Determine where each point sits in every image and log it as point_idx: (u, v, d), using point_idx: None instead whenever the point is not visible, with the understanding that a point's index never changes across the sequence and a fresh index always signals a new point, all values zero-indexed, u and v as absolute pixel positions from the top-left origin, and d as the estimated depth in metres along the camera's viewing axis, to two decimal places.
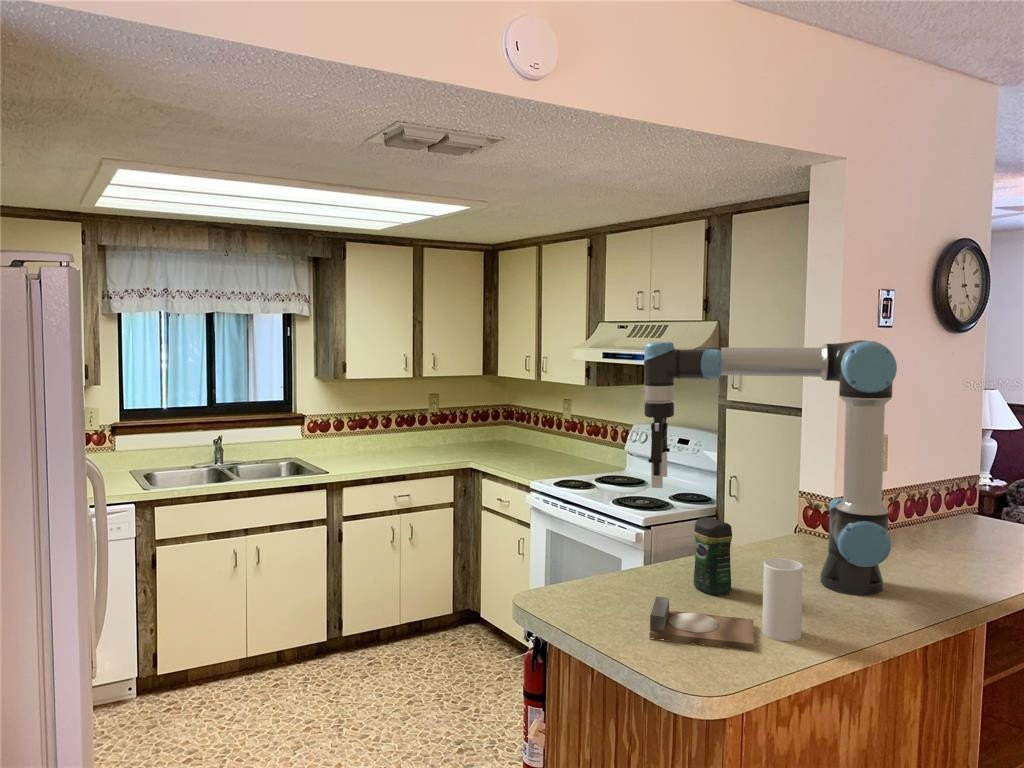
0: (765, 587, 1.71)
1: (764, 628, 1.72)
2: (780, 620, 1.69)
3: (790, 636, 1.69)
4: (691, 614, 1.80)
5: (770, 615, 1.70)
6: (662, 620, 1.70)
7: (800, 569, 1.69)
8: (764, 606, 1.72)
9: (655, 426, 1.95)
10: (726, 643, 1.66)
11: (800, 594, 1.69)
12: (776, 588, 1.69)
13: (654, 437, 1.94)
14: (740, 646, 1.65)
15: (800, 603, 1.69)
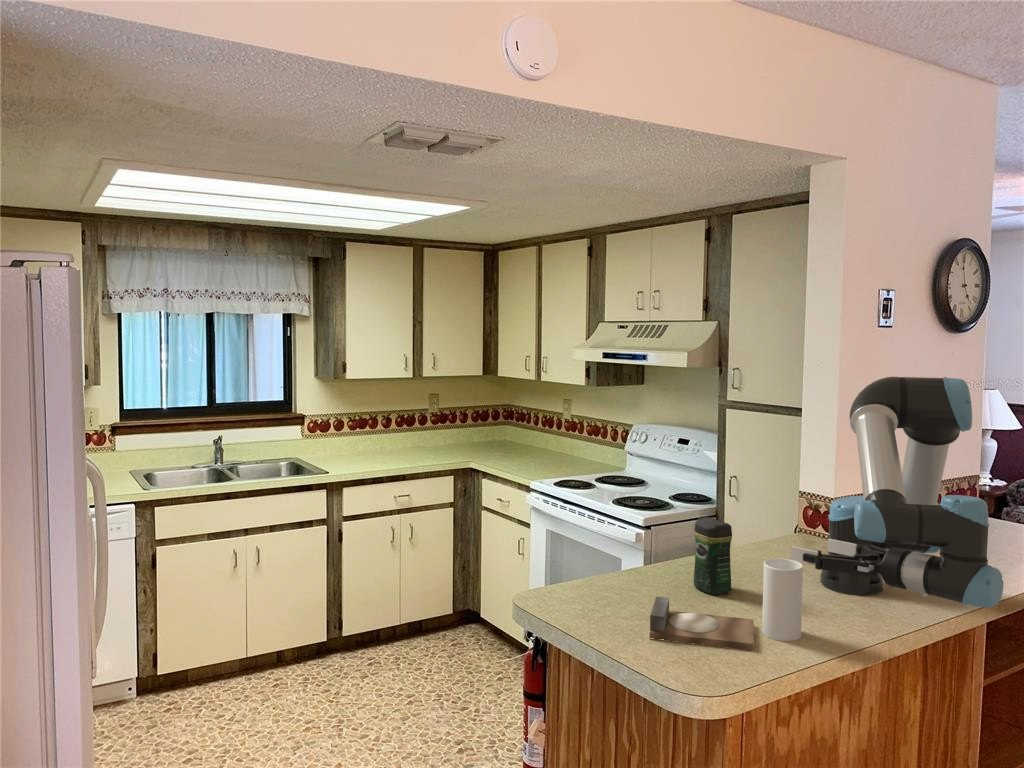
0: (765, 587, 1.71)
1: (764, 628, 1.72)
2: (780, 620, 1.69)
3: (790, 636, 1.69)
4: (691, 614, 1.80)
5: (770, 615, 1.70)
6: (662, 620, 1.70)
7: (800, 569, 1.69)
8: (764, 606, 1.72)
9: None
10: (726, 643, 1.66)
11: (800, 594, 1.69)
12: (776, 588, 1.69)
13: None
14: (740, 646, 1.65)
15: (800, 603, 1.69)
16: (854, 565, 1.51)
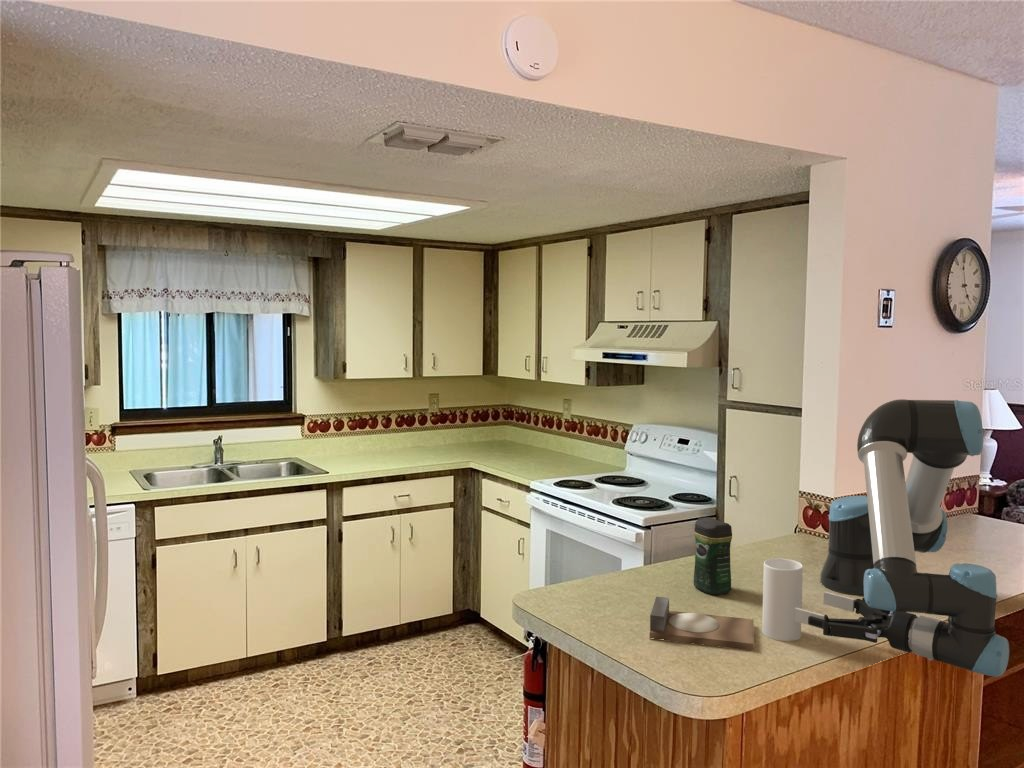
0: (765, 587, 1.71)
1: (764, 628, 1.72)
2: (780, 620, 1.69)
3: (790, 636, 1.69)
4: (691, 614, 1.80)
5: (770, 615, 1.70)
6: (662, 620, 1.70)
7: (800, 569, 1.69)
8: (764, 606, 1.72)
9: None
10: (726, 643, 1.66)
11: (800, 594, 1.69)
12: (776, 588, 1.69)
13: None
14: (740, 646, 1.65)
15: (800, 603, 1.69)
16: (862, 631, 1.52)
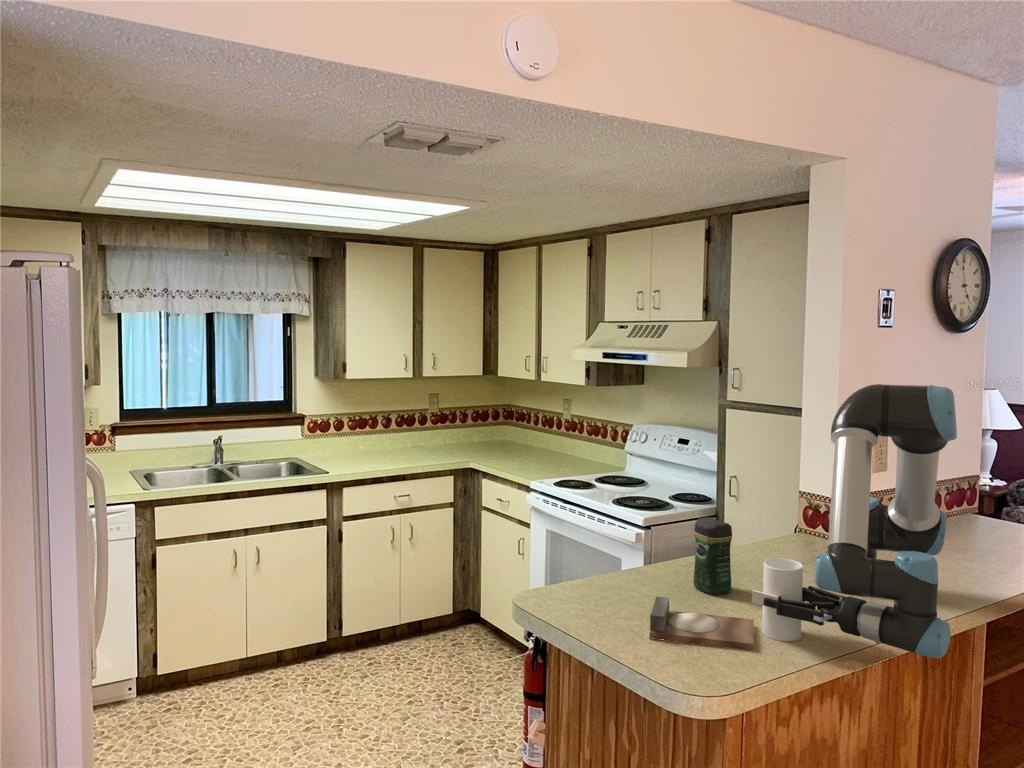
0: (765, 587, 1.71)
1: (764, 628, 1.72)
2: (780, 620, 1.69)
3: (790, 636, 1.69)
4: (691, 614, 1.80)
5: (770, 615, 1.70)
6: (662, 620, 1.70)
7: (800, 569, 1.69)
8: (764, 606, 1.72)
9: None
10: (726, 643, 1.66)
11: (800, 594, 1.69)
12: (776, 588, 1.69)
13: None
14: (740, 646, 1.65)
15: None
16: (810, 614, 1.61)
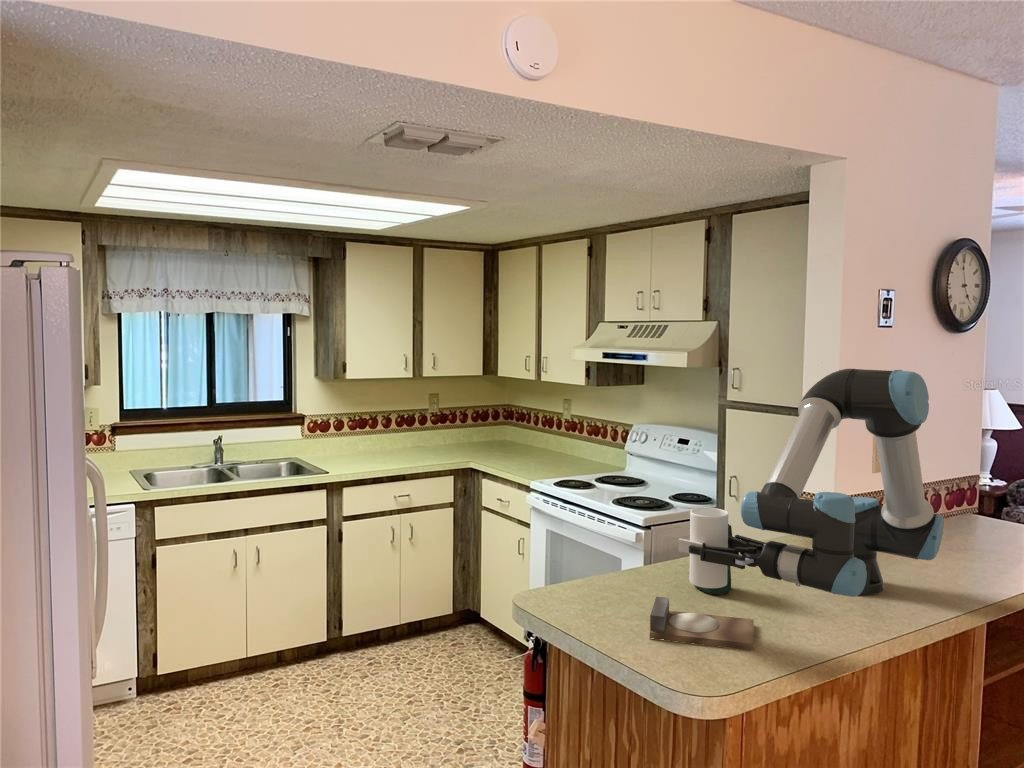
0: (691, 535, 1.71)
1: (690, 577, 1.72)
2: (706, 567, 1.69)
3: (715, 583, 1.69)
4: (691, 614, 1.80)
5: (696, 563, 1.70)
6: (662, 620, 1.70)
7: (725, 516, 1.69)
8: (690, 554, 1.72)
9: None
10: (726, 643, 1.66)
11: (725, 541, 1.69)
12: (701, 536, 1.69)
13: None
14: (740, 646, 1.65)
15: None
16: (732, 558, 1.61)
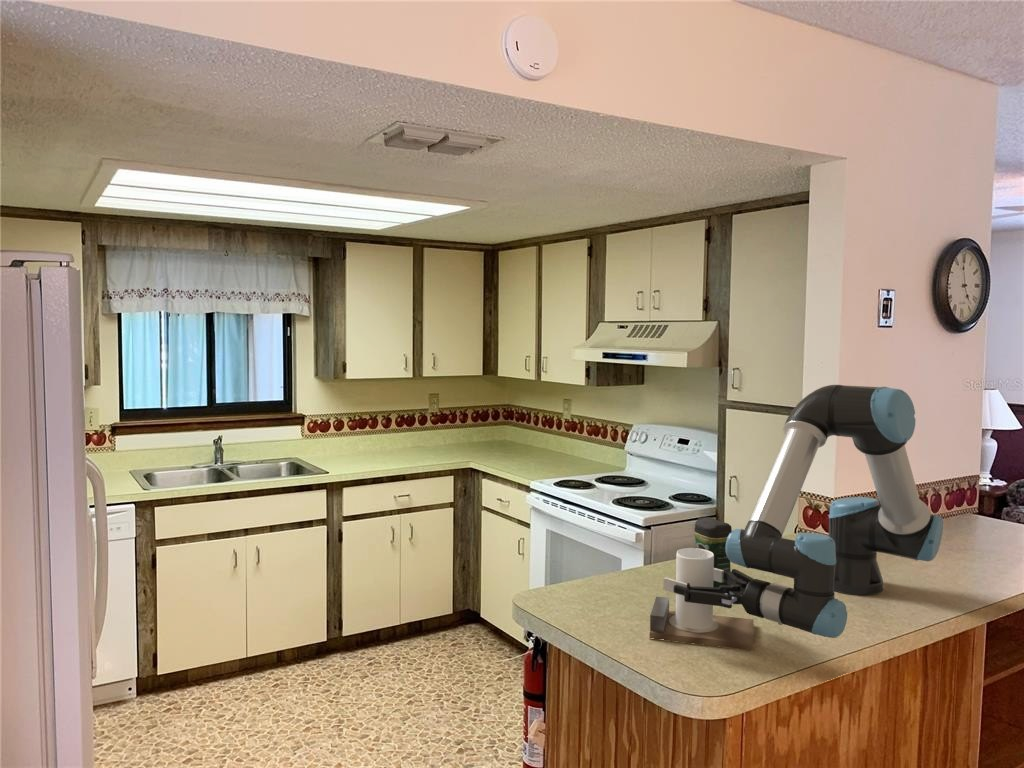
0: (677, 576, 1.74)
1: (676, 617, 1.75)
2: (691, 608, 1.71)
3: (700, 624, 1.71)
4: None
5: (681, 604, 1.72)
6: (662, 620, 1.70)
7: (710, 558, 1.71)
8: (676, 595, 1.74)
9: None
10: (726, 643, 1.66)
11: (710, 583, 1.72)
12: (686, 577, 1.71)
13: None
14: (740, 646, 1.65)
15: None
16: (719, 598, 1.62)
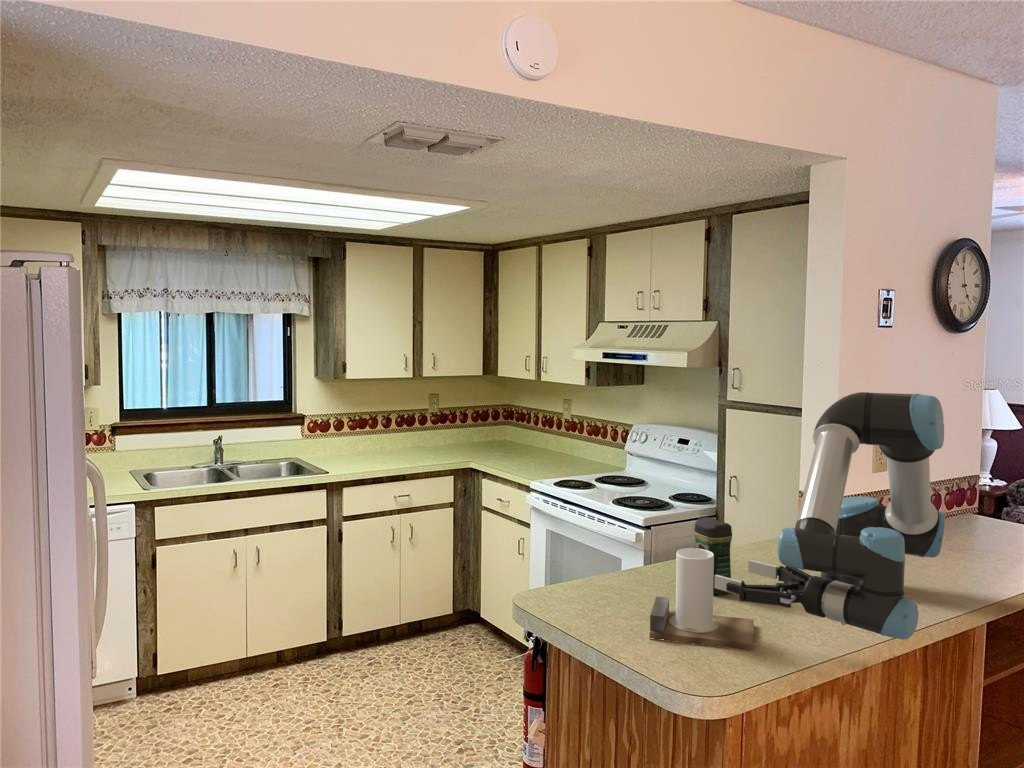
0: (677, 576, 1.74)
1: (676, 617, 1.75)
2: (691, 608, 1.71)
3: (700, 624, 1.71)
4: None
5: (681, 604, 1.72)
6: (662, 620, 1.70)
7: (710, 558, 1.71)
8: (676, 595, 1.74)
9: None
10: (726, 643, 1.66)
11: (710, 583, 1.72)
12: (686, 577, 1.71)
13: None
14: (740, 646, 1.65)
15: (711, 592, 1.72)
16: (777, 597, 1.52)
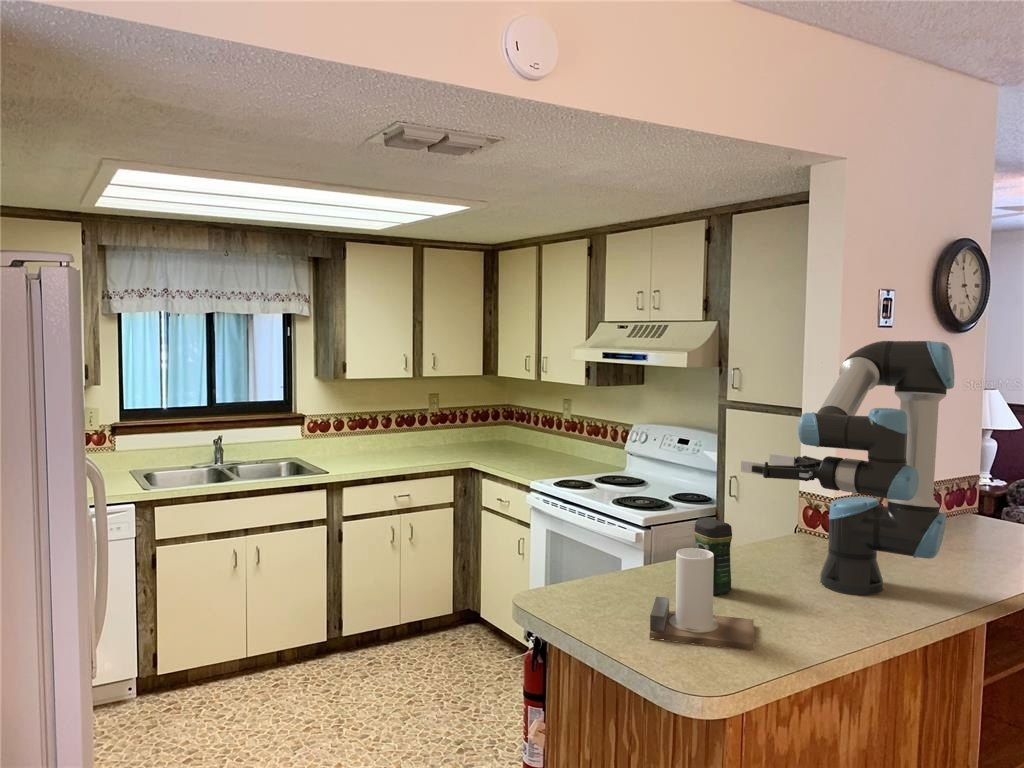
0: (677, 576, 1.74)
1: (676, 617, 1.75)
2: (691, 608, 1.71)
3: (700, 624, 1.71)
4: None
5: (681, 604, 1.72)
6: (662, 620, 1.70)
7: (710, 558, 1.71)
8: (676, 595, 1.74)
9: None
10: (726, 643, 1.66)
11: (710, 583, 1.72)
12: (686, 577, 1.71)
13: None
14: (740, 646, 1.65)
15: (711, 592, 1.72)
16: (796, 472, 1.75)
